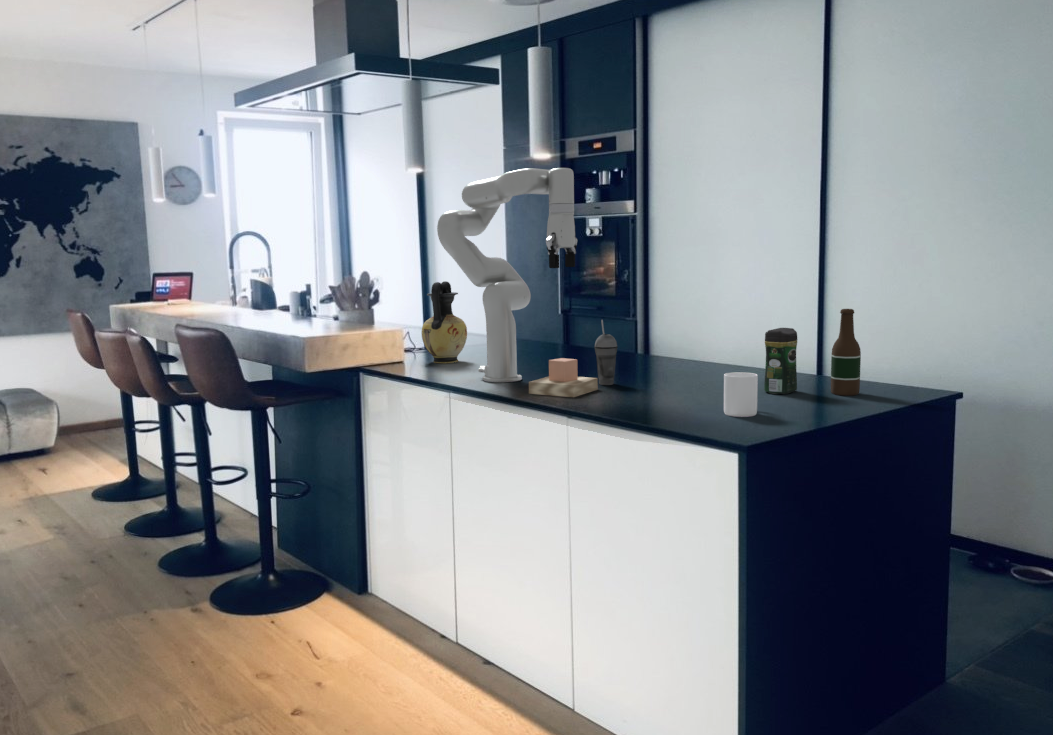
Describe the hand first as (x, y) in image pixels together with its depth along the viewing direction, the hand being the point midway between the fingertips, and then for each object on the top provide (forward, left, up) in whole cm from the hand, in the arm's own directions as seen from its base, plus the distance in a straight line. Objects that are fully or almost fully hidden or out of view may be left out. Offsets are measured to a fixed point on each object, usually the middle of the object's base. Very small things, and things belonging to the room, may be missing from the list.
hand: (562, 267), depth 280 cm
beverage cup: (+10, +9, -36) cm, 39 cm away
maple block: (+5, -9, -37) cm, 38 cm away
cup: (+63, -18, -36) cm, 75 cm away
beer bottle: (+79, +22, -36) cm, 90 cm away
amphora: (-68, +30, -36) cm, 83 cm away
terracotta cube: (+5, -9, -33) cm, 34 cm away
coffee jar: (+62, +17, -36) cm, 74 cm away
